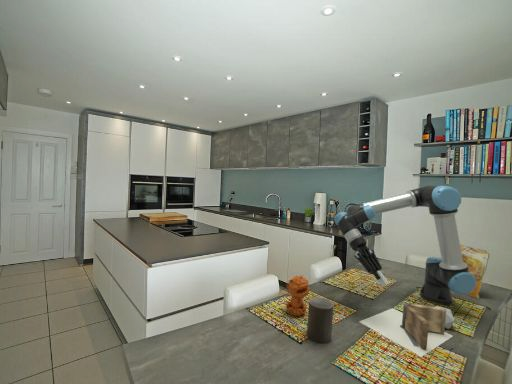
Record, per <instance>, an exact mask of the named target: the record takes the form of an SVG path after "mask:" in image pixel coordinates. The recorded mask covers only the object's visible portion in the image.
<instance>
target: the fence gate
mask: <svg viewBox="0 0 512 384" xmlns="http://www.w3.org/2000/svg"><path fill="white" fill-rule="evenodd" d="M428 327H429V323H428V322H427V320H425V319H424V318H423V317H422V316H421V315H420V314H419V313H418V312H417V311H416V310H415V309H413V308H412V307H411V306H406V319H405V329H406V330H407V331H408V333H409V334H410V335H411V336H412V337H413V338H414V339H415V341H416V342H417V343H418V344H419V345H420V347H421V348H422V349H424V350H426V349H427V338H428Z"/></svg>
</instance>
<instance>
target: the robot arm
mask: <svg viewBox="0 0 512 384" xmlns="http://www.w3.org/2000/svg"><path fill="white" fill-rule="evenodd" d="M461 204H462V196H461V194H460V192H459V191H458V189H456V188H454V187H451V186H447V185H425V186H422V187H417V188H414V189H411V190H410V189H409V190H407V191H405V193H402V194H398V195H397V194H396V195H393V196H389V197H385V198H381V199H376V200H372V201H368V202H362V203H359V204H350V205H348V206H347V207H346V208H345V211H342V212H338V213H336V215H335V216H334V218H333V221H334V223H335V224H336V227H337V228H338V230H339V231H340V233H341V234H342V236H344V238H345V241H346V242H347V243H348V244H349V246H350V248H351V249H352V251H355V254H354V255H353V256H354V257H355V259H357V260H358V262H359V263H360V264H361V265H362V266H363V268H364V269H365V270H366V271H367V273H369V275H373V276H374V277H375V279H376V280H377V281H378V283H379V285H380V287H381V288H384V287H386V286H387V285H390V284H389V282H388V280H387V279H386V277H385V276H384V274H383V273H382V271H381V270H382V269H383V267H382V265H381V263H380V261H379V259H378V257H377V256H376V254H375V253H376V252H375V250H374V249H370V248H369V246H367V241H366V240H365V238H364V237H363V236H362V234H361V231H360V230H359V229H358V228H357V227H359V226H361V225H362V224H365V223H367V222H369V221H371V220H373V219H375V218H376V217H377V216H376V215H377V214H383V213H387V212H392V211H395V210H400V209H404V208H409V207H410V208H417V207H418V208H419V207H425V208H428V211H429V212H428V213H429V214H430V215H431V216H432V217H433V219H434V224H435V230H436V234H437V235H436V236H437V241H438V242H437V243H438V246H439V251H440V252H439V253H440V257H434V256H431V257H427V258H426V261H425V270H424V271H425V272H424V273H425V274H424V282H423V285H422V286H421V288H420V290H419V297H421V298H422V299H424V300H426V301H428V302H431V303H434V304H438V305H443V306H444V305H445V306H450V305H452V304H453V295H452V293H456V294H459V295H465V294H467V293H469V292H471V291H472V290H473V289H474V288H475V286H476V279H475V277H474V276H473V275H472V274H471V273H469V270H468V265H467V264H466V263H465V262H463V258H462V253H461V247H460V245H461V243H460V238H459V237H460V236H459V233H458V232H459V231H458V228H457V227H458V226H457V220H456V214H457V213H458V211H459V210H458V209H459V207H460V205H461ZM451 292H452V293H451Z"/></svg>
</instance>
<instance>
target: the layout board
mask: <svg viewBox="0 0 512 384" xmlns="http://www.w3.org/2000/svg"><path fill="white" fill-rule="evenodd" d="M402 318H403V311H402V312H401V311H399V310H397V309H396V308H393V307H392V308H389V309H387V310H384V311H382V312H380V313H377V314H374V315H372V316H370V317H367V318H365V319H362V320H360V321H358V322H359V323H360V324H362V325H364V326H366V327H368V328H369V329H371V330H373V331H375V332H377V333H378V334H380V335H381V336H383V337H385V338H386V339H389V340H390V341H392V342H394V343H396V344H398V345H399V346H401V347H403V348H404V349H406V350H408V351H410V352H411V353H413V354H415V355H417V356H419V359H423V358H422V357H423V356H426V355H427V354H428V353H430V352H431V351H433V350H434V349H436V348H437V347H439V346H440V345H442V344H443V343H446V342H447V341H448V340H449V339H451V338H453V337H454V336H453V335H452V334H449V333H448V332H446V331H444V335H442V334H440V333H438V332H432V331H428V338H427V349H426V350H424V349H422V348H421V347H420V345H419V344H418V343H417V342H416V341H415V339H414V338H413V337H412V336H411V335H410V334H409V333H408V331H407V330H406V329H405V328H403V327H402Z"/></svg>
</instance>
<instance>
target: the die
mask: <svg viewBox="0 0 512 384" xmlns="http://www.w3.org/2000/svg"><path fill="white" fill-rule="evenodd" d="M435 307H438V308H444V309H446V320H445V329H447V330H450V328H451V327H452V326H453V324H454V322H455V318H454V316H453V313H452V310H451V309H449V308H446V307H442V306H439V305H435Z"/></svg>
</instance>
